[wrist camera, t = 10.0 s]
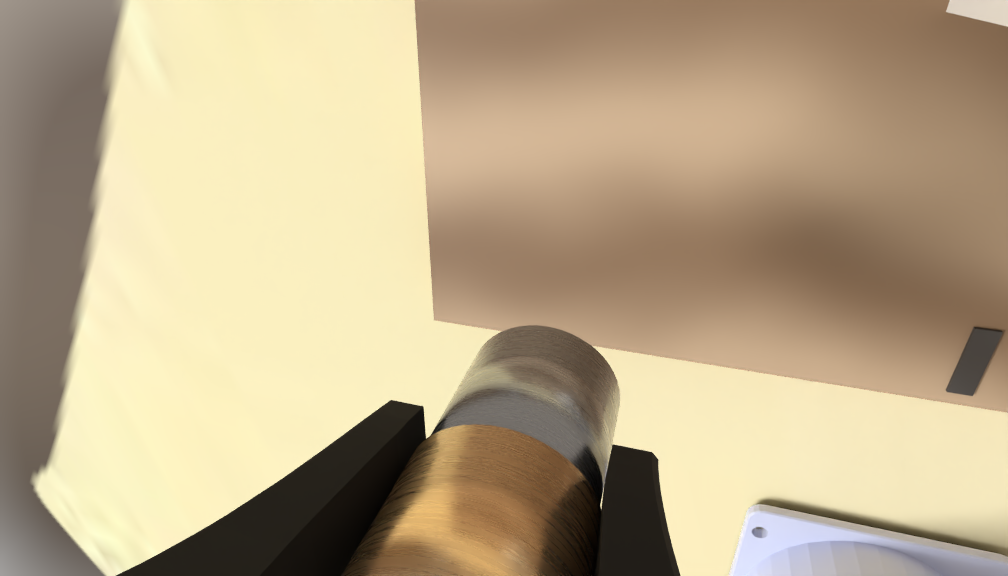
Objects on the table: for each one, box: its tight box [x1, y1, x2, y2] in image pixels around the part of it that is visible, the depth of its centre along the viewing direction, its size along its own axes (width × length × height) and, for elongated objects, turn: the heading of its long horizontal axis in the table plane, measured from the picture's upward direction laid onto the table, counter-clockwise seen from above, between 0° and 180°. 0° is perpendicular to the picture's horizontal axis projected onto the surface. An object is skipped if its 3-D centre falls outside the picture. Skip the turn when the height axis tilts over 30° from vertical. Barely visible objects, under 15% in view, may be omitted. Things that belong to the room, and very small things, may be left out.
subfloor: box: [415, 0, 1008, 412], centre depth 13 cm, size 18×22×1 cm
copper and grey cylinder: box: [341, 325, 620, 576], centre depth 9 cm, size 3×3×7 cm
